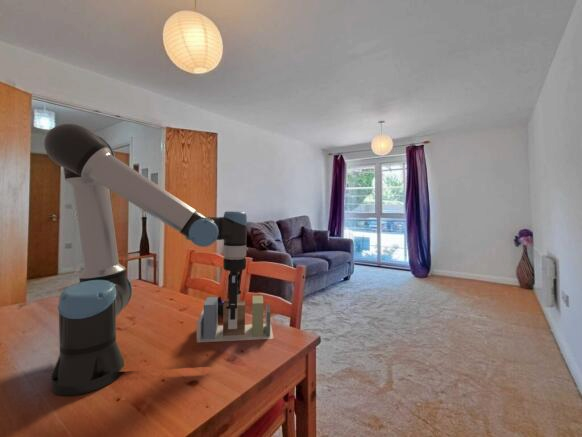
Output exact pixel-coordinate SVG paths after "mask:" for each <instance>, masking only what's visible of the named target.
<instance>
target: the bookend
mask: <svg viewBox="0 0 582 437" xmlns="http://www.w3.org/2000/svg"><path fill="white" fill-rule="evenodd" d="M265 324H266V332H267V336H270V324H271V308H270V303H269V302H266V303H265Z"/></svg>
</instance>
